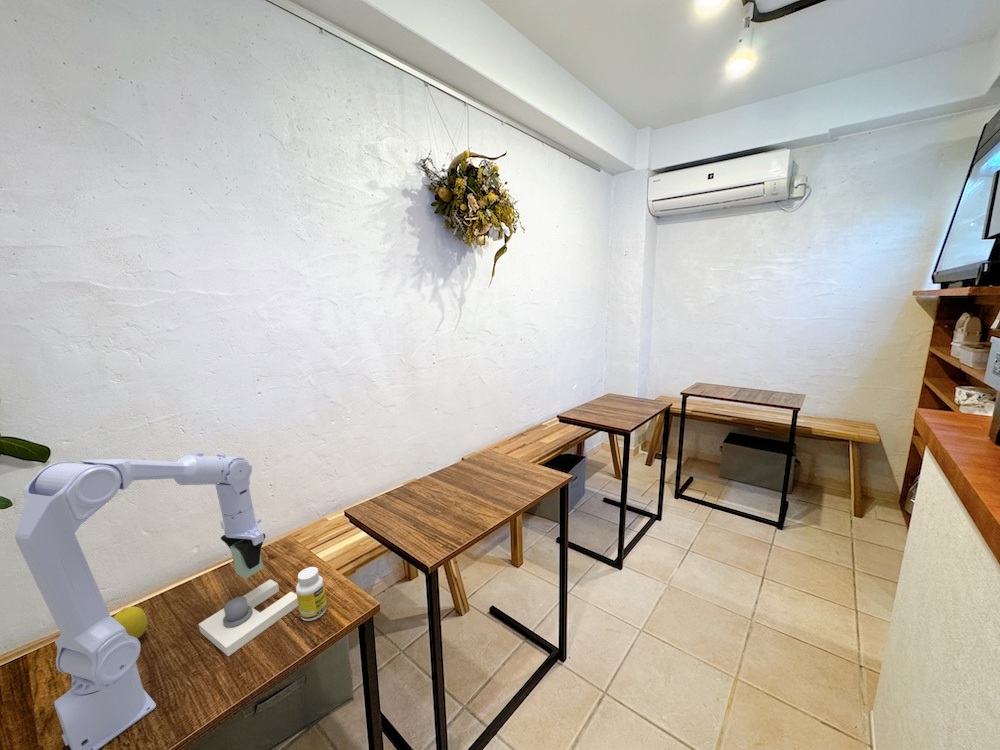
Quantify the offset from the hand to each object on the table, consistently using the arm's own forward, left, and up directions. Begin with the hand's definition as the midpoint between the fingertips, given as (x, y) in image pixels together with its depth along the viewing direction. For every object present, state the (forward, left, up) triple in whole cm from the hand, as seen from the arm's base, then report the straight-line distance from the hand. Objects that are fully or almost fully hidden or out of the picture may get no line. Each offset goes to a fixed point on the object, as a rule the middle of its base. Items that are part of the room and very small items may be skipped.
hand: (248, 563), depth 89 cm
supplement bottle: (+4, -16, -10) cm, 19 cm away
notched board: (-3, -5, -10) cm, 11 cm away
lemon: (-19, +11, -10) cm, 24 cm away
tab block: (0, 0, -2) cm, 2 cm away
